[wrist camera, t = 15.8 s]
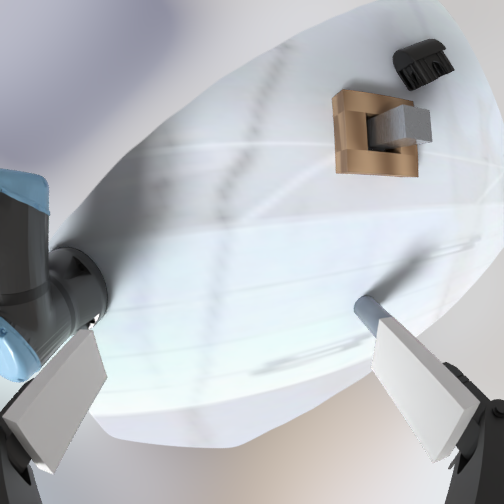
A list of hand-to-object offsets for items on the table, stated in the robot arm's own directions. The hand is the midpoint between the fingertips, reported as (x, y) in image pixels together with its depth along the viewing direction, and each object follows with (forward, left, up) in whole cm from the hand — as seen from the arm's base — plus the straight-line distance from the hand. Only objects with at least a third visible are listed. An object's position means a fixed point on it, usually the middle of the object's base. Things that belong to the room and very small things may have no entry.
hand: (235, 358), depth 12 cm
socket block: (+21, +15, -32) cm, 41 cm away
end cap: (+32, +30, -32) cm, 54 cm away
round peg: (+21, -13, -32) cm, 40 cm away
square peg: (+21, +15, -32) cm, 41 cm away
